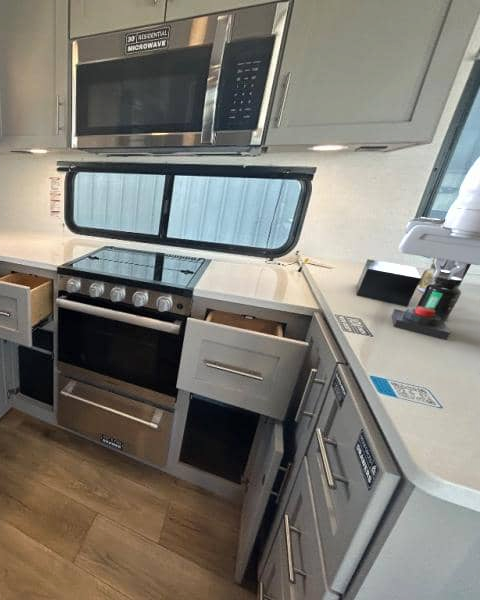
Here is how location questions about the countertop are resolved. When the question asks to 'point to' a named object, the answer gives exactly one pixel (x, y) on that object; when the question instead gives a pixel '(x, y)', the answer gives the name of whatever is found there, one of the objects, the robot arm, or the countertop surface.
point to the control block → (420, 323)
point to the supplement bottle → (441, 296)
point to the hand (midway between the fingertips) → (441, 277)
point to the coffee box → (447, 266)
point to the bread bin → (386, 287)
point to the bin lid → (393, 269)
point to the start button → (424, 311)
